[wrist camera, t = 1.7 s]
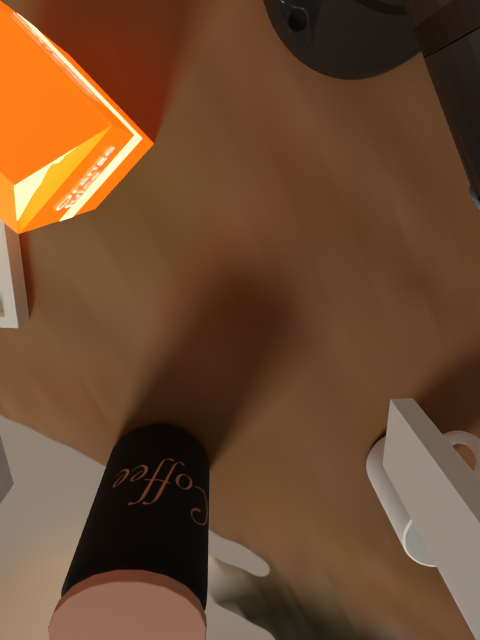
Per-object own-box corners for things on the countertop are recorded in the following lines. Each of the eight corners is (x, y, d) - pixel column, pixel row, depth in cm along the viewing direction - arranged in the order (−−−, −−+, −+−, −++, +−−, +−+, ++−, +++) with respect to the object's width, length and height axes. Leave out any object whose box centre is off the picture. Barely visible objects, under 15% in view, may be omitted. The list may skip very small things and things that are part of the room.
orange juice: (68, 51, 31) (-154, -128, 12) (155, 143, 34) (81, 109, 15) (6, 129, 33) (-275, 76, 14) (94, 211, 35) (-43, 258, 16)
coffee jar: (227, 444, 44) (236, 613, 27) (180, 511, 47) (161, 701, 30) (138, 402, 42) (87, 559, 25) (94, 475, 45) (21, 661, 28)
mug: (429, 390, 43) (490, 453, 34) (475, 431, 46) (545, 501, 36) (348, 462, 46) (384, 540, 36) (396, 498, 48) (441, 580, 39)
